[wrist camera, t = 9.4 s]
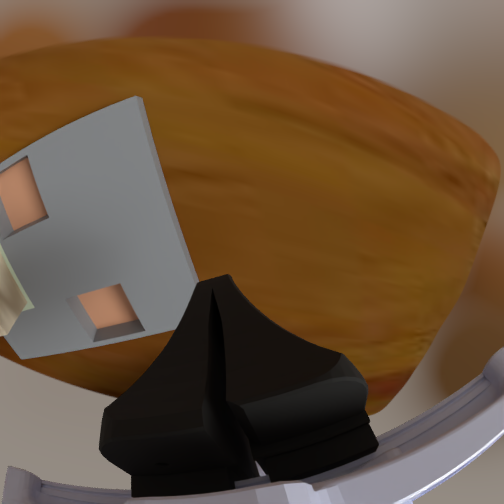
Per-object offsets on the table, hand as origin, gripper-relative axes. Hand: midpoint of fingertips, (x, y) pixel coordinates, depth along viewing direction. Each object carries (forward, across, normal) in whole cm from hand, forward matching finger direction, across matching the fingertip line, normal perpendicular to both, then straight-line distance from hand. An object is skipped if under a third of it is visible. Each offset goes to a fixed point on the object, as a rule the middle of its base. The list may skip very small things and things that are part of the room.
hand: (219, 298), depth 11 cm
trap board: (+9, +12, -1) cm, 15 cm away
